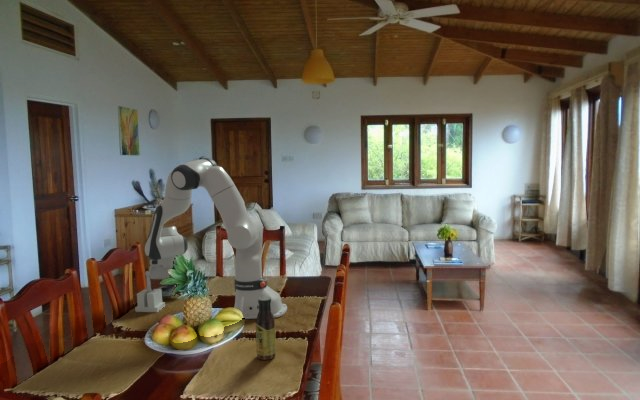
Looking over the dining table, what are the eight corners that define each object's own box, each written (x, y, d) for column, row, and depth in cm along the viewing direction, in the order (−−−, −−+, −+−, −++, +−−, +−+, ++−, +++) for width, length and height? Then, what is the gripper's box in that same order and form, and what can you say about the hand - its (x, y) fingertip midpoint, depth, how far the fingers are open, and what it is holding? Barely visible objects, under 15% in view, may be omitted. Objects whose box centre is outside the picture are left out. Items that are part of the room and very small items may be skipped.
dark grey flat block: (181, 287, 219) (181, 281, 218) (169, 296, 206) (168, 289, 206) (166, 287, 220) (165, 281, 219) (152, 295, 207) (152, 289, 207)
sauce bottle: (255, 354, 149) (252, 296, 147) (273, 351, 152) (270, 293, 149) (259, 362, 143) (256, 302, 141) (278, 359, 146) (276, 299, 143)
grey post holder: (165, 306, 200) (162, 268, 198) (157, 312, 193) (154, 273, 191) (144, 306, 201) (141, 268, 199) (135, 311, 194) (132, 272, 192)
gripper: (193, 258, 217) (194, 286, 218) (153, 257, 220) (155, 285, 221) (187, 261, 211) (189, 290, 212) (146, 261, 214) (148, 289, 215)
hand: (171, 287), depth 217 cm, fingers closed on dark grey flat block, 2 cm apart
